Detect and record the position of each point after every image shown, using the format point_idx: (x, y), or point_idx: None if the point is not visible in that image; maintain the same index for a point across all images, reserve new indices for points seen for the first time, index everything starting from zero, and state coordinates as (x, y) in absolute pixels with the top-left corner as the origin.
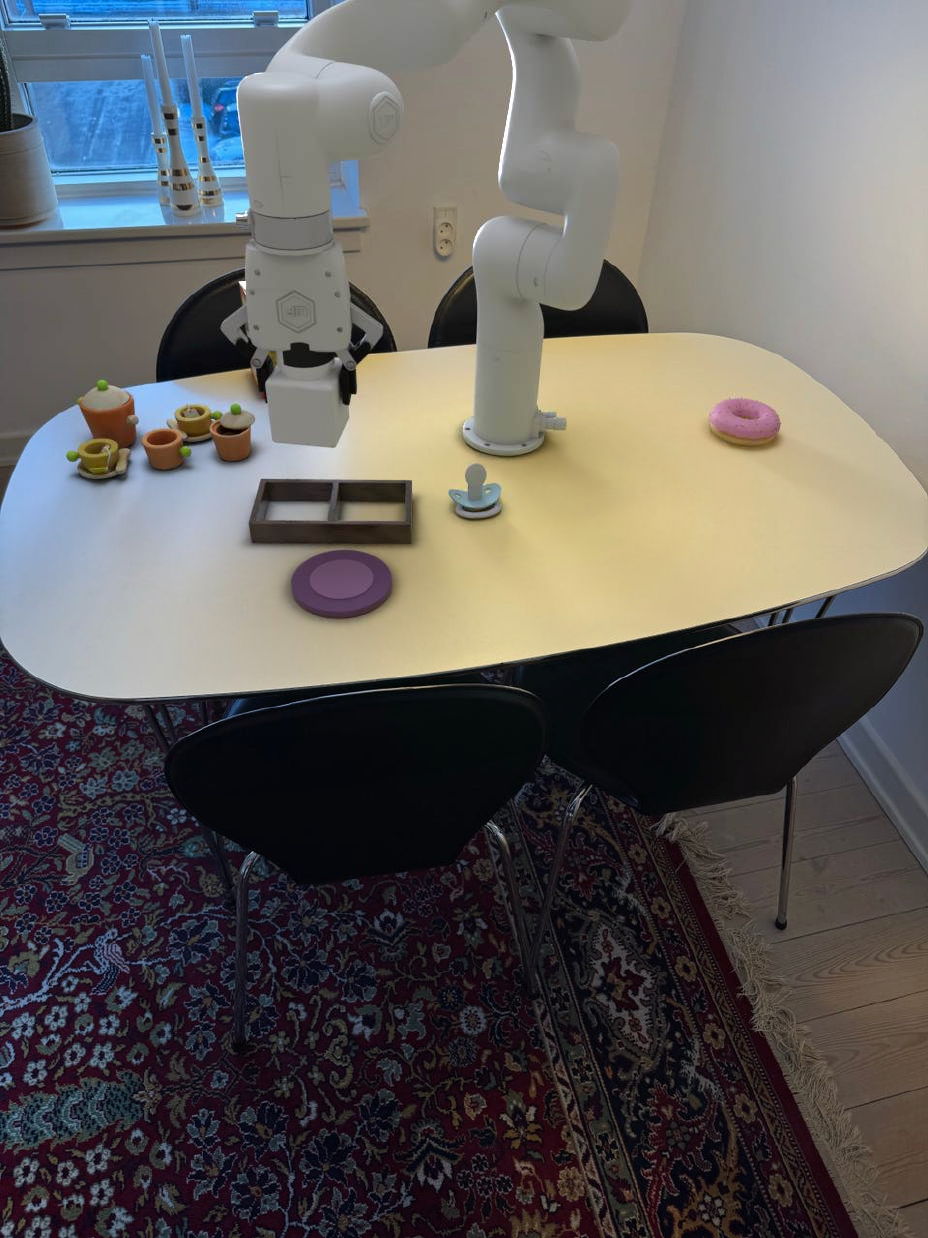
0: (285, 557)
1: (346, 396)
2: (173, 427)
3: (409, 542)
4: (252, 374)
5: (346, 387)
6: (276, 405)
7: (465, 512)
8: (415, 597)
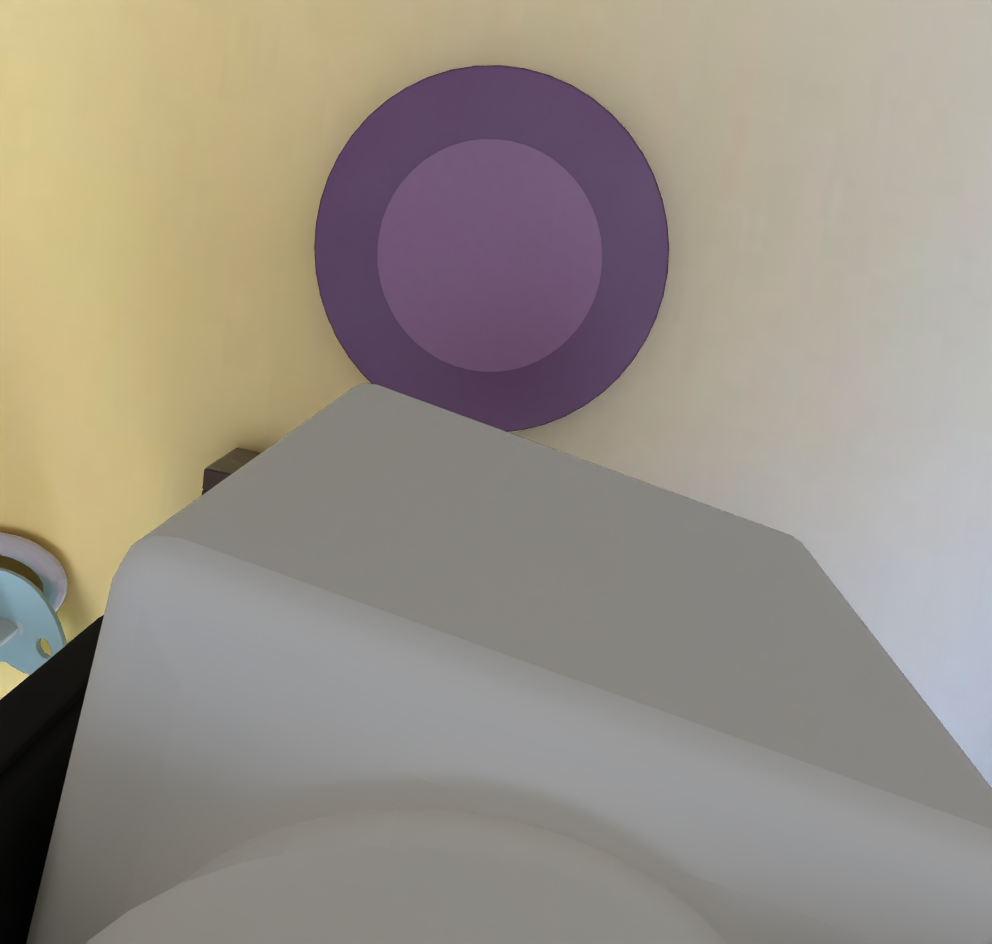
0: (662, 456)
1: (80, 658)
2: None
3: (239, 450)
4: None
5: (7, 712)
6: (840, 659)
7: (32, 560)
8: (250, 144)
